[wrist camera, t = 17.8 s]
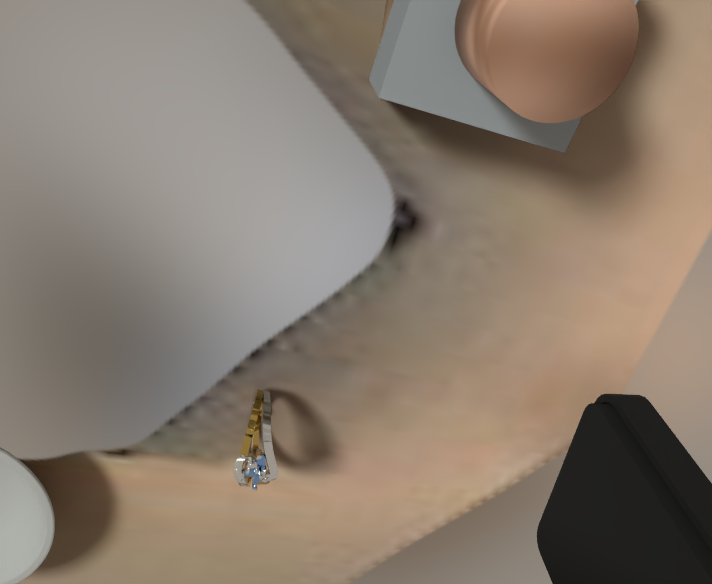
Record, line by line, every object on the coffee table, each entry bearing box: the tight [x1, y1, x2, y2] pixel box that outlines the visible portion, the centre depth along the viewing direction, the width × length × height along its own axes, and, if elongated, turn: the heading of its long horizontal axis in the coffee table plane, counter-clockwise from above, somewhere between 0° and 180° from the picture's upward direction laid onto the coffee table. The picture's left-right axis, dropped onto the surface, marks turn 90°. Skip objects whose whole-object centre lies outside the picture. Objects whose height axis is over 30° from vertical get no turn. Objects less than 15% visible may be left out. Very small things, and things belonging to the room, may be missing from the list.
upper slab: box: [369, 0, 638, 153], centre depth 34 cm, size 11×11×4 cm
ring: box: [234, 389, 278, 491], centre depth 49 cm, size 7×3×8 cm, turn 165°
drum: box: [454, 0, 639, 123], centre depth 30 cm, size 6×6×6 cm
